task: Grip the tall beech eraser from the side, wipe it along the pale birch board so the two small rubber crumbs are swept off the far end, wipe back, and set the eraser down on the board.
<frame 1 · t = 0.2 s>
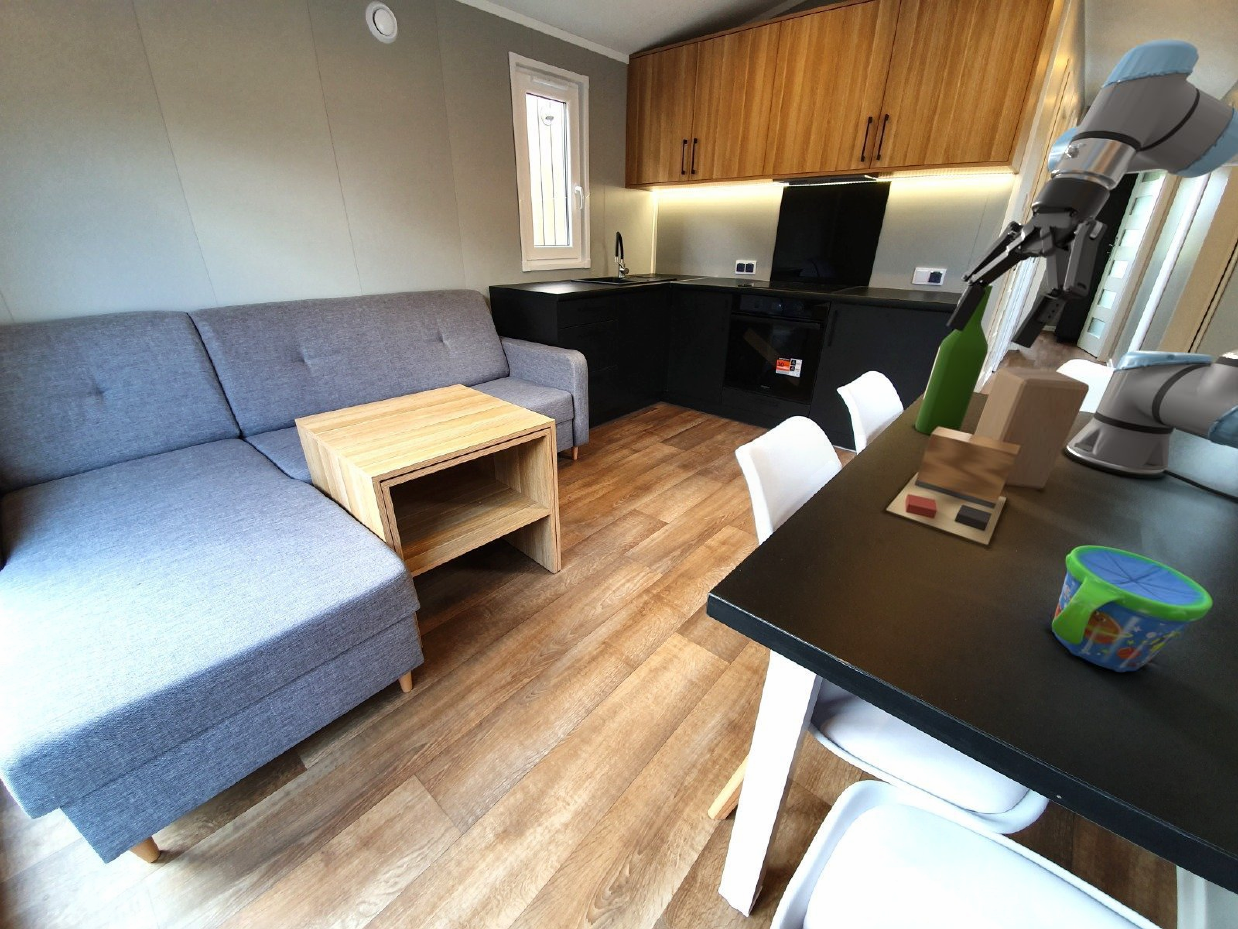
hand: (984, 336, 75), 27 cm above the table, tool tilted 15°, fingers open, 13 cm apart
wine bottle: (935, 431, 116), on the table
crumb b: (919, 509, 80), resting on board
crumb a: (971, 521, 77), resting on board
block: (1000, 477, 94), on the table
snack cup: (1092, 649, 54), on the table
eraser: (955, 491, 86), resting on board
board: (947, 506, 82), on the table
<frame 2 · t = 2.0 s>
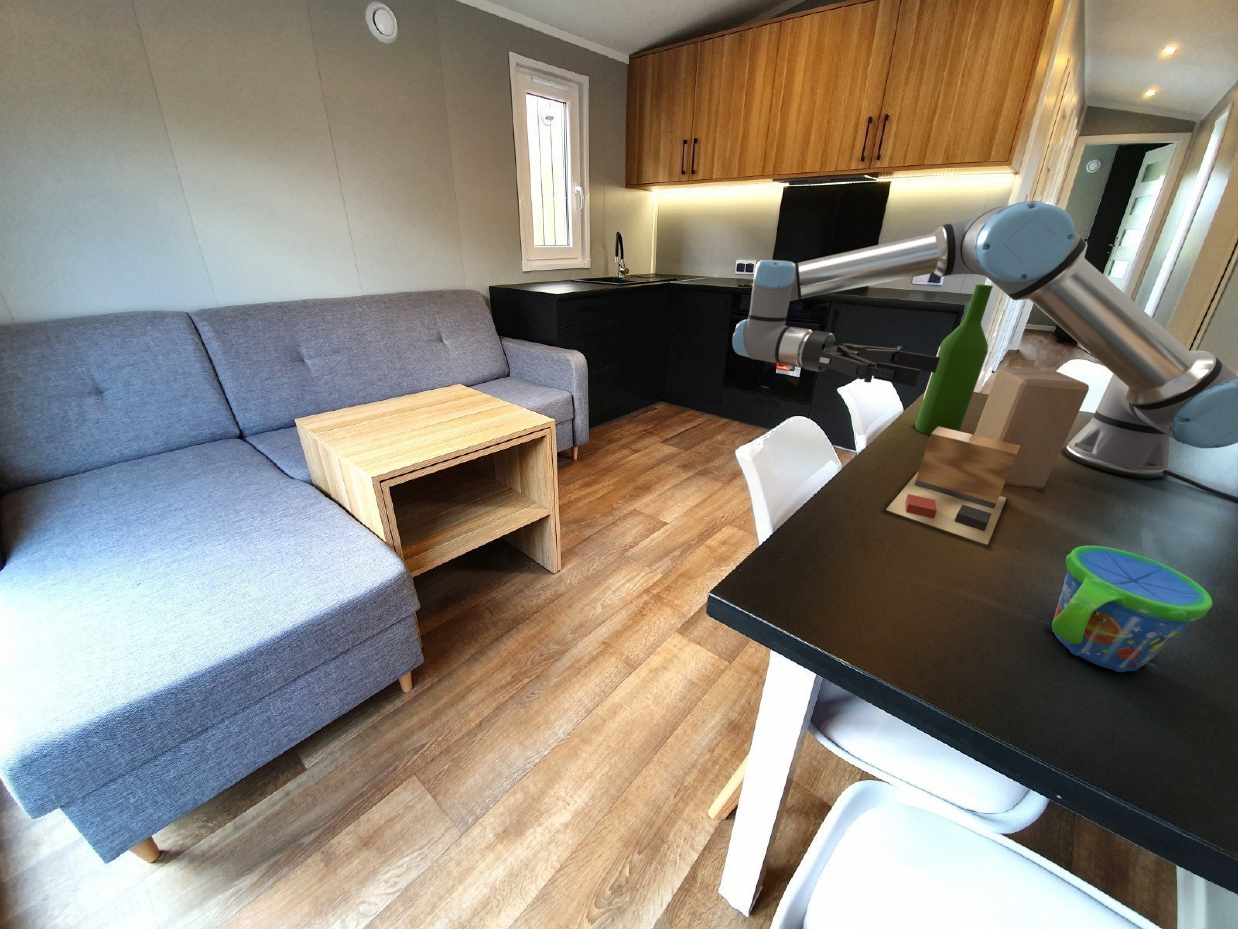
hand: (928, 371, 84), 20 cm above the table, tool horizontal, fingers open, 13 cm apart
nothing on the table moved.
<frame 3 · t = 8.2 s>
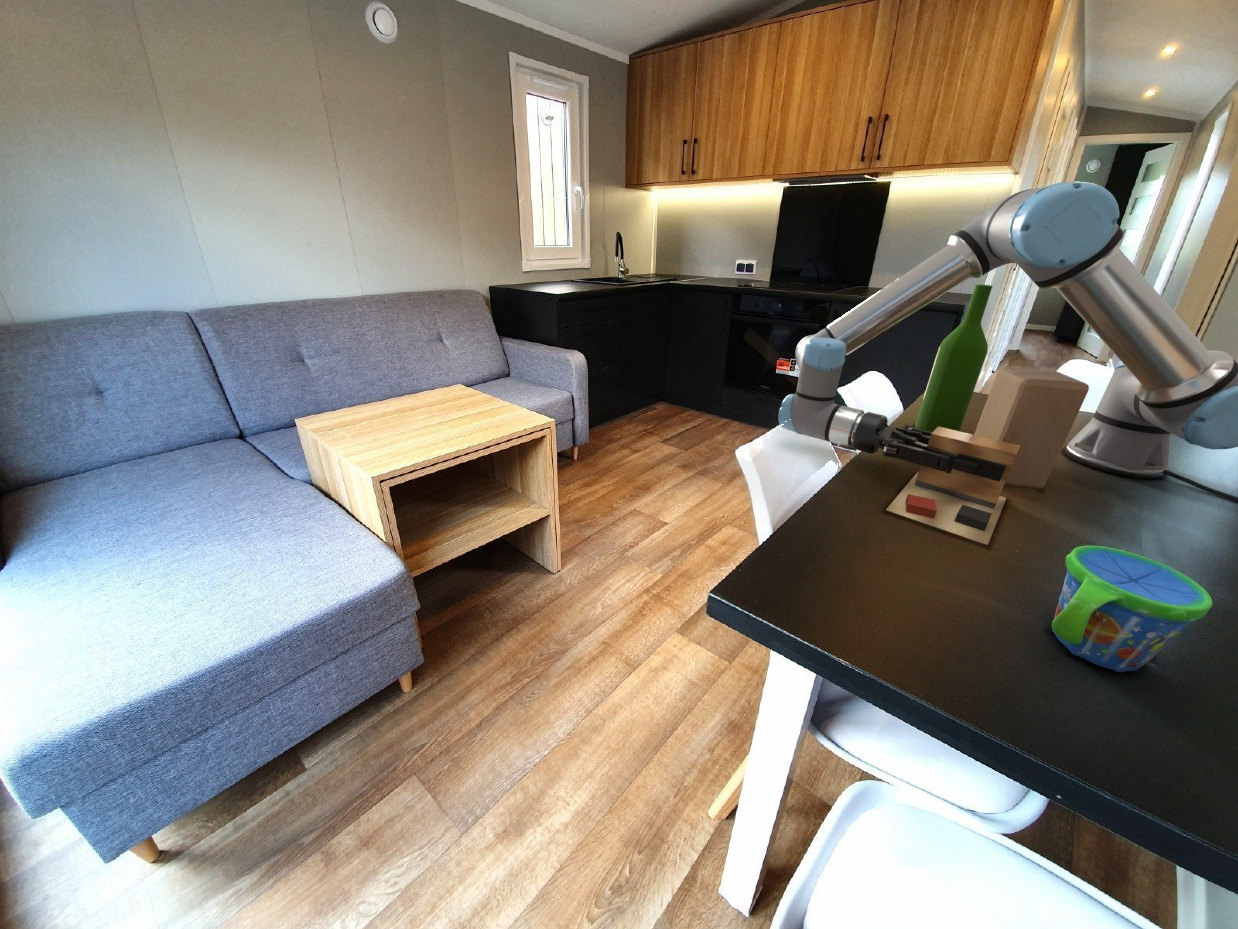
hand: (1005, 467, 80), 7 cm above the table, tool horizontal, fingers closed on eraser, 5 cm apart
eraser: (955, 491, 86), resting on board, touching gripper
everything else where it was.
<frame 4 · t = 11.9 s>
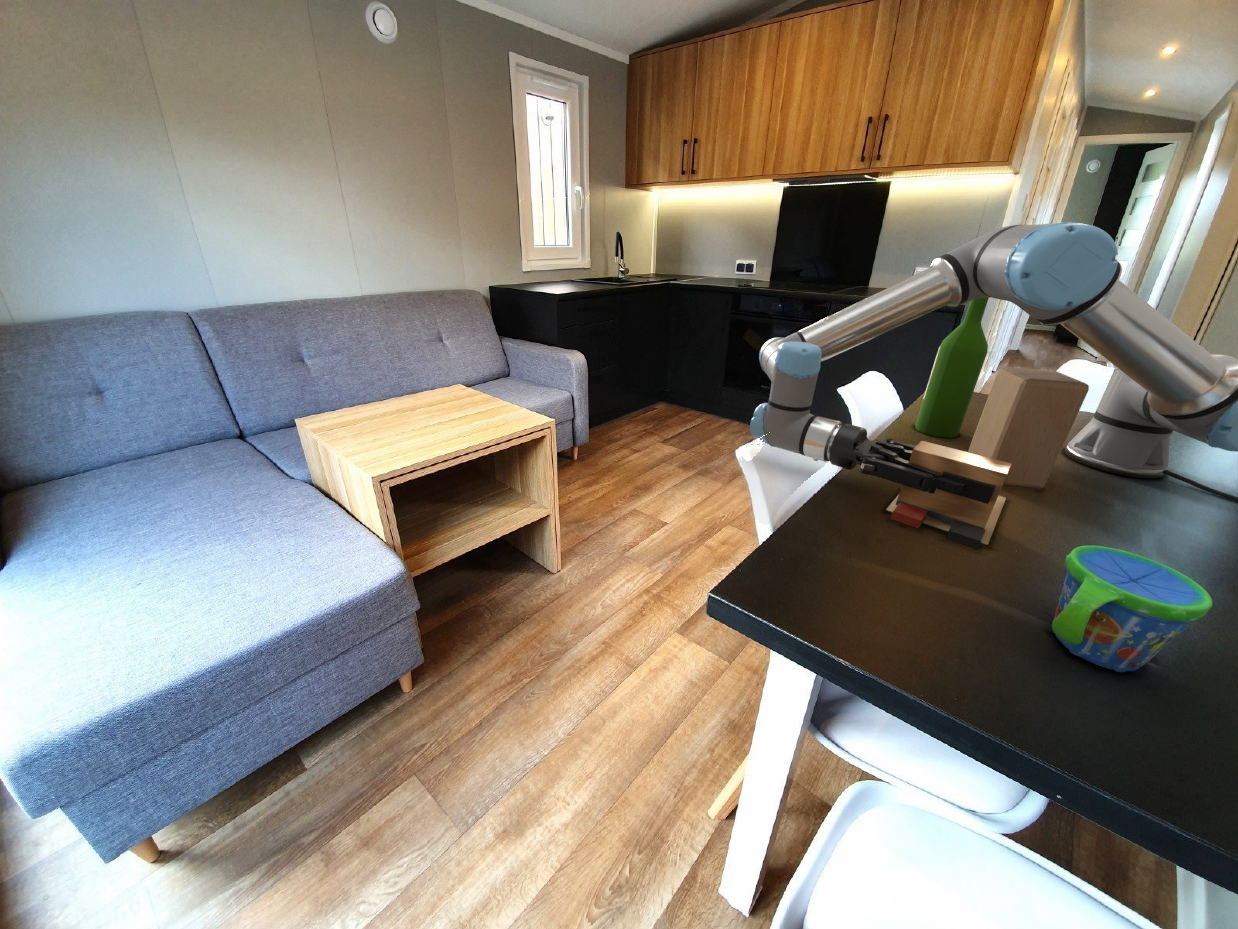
hand: (994, 488, 72), 8 cm above the table, tool horizontal, fingers closed on eraser, 5 cm apart
crumb b: (908, 518, 77), on the table
crumb a: (964, 538, 73), on the table
eraser: (940, 513, 78), point 1 cm above the table, touching gripper
everything else where it was.
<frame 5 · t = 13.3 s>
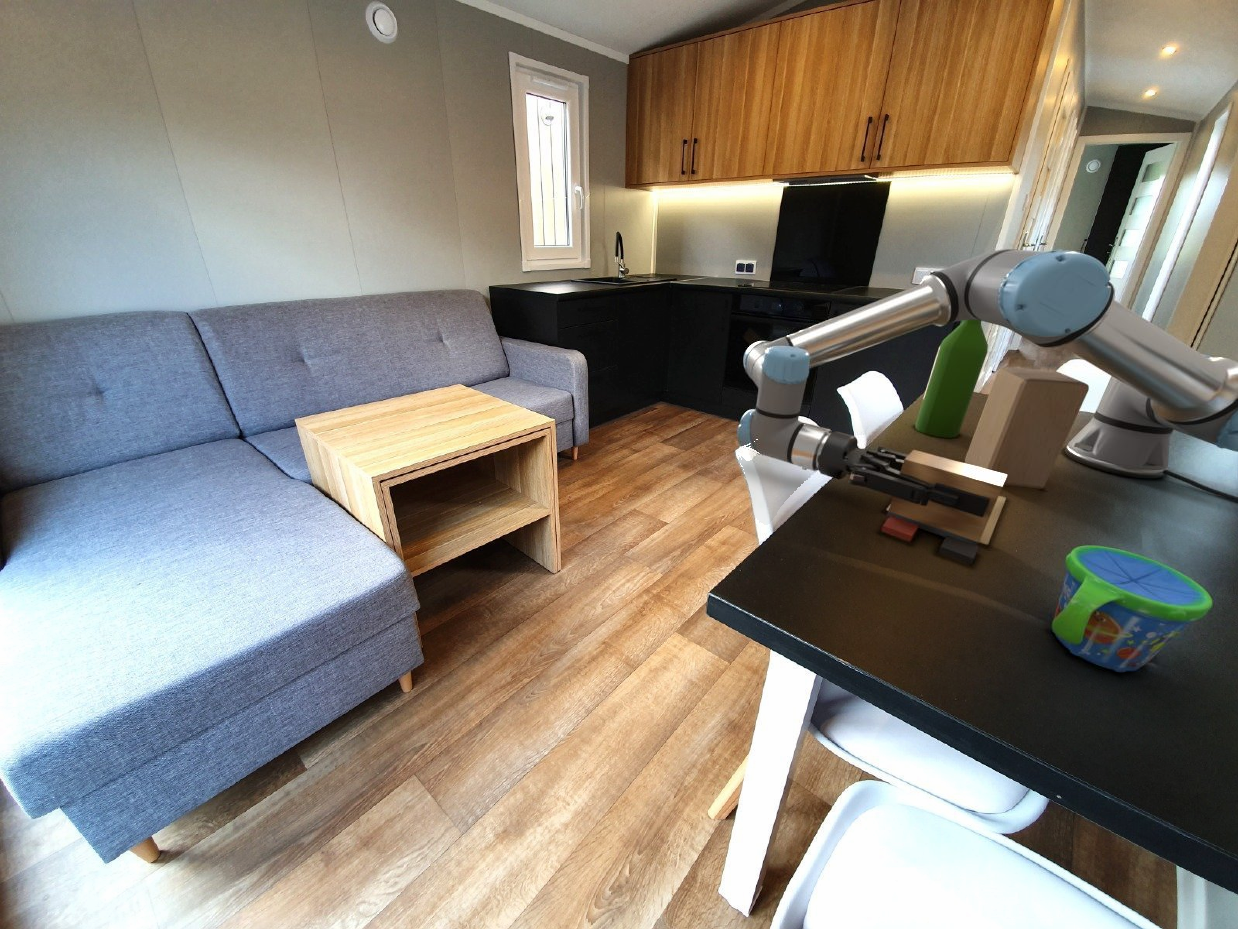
hand: (989, 500, 69), 8 cm above the table, tool horizontal, fingers closed on eraser, 5 cm apart
crumb b: (898, 533, 74), on the table
crumb a: (956, 555, 70), on the table
eraser: (933, 525, 75), point 1 cm above the table, touching gripper
everything else where it was.
when the fingers open (7 cm above the table, at t = 17.7 s): eraser stays where it is, resting on board.
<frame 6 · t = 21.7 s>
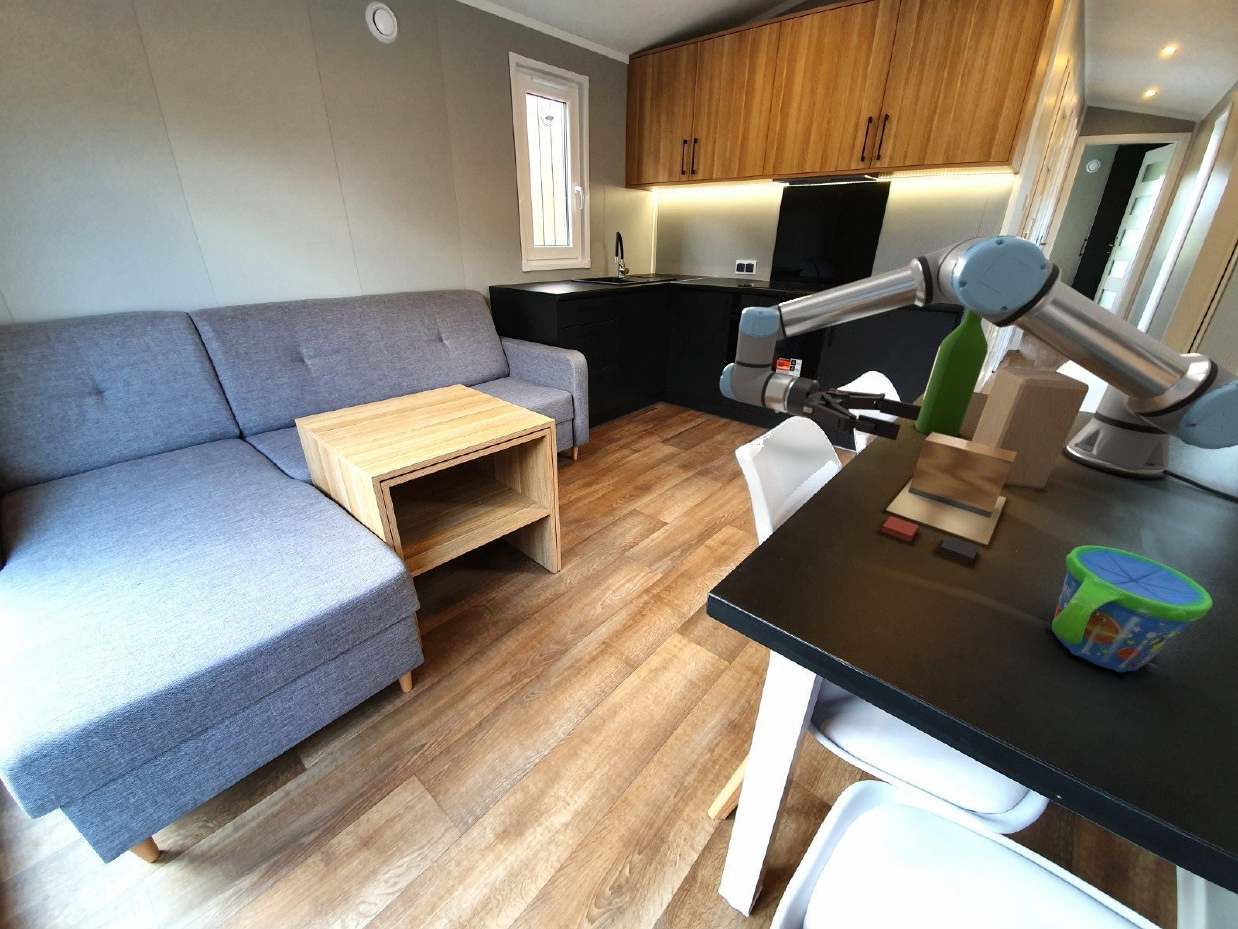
hand: (909, 422, 85), 12 cm above the table, tool horizontal, fingers open, 13 cm apart
eraser: (950, 499, 84), resting on board
everything else where it was.
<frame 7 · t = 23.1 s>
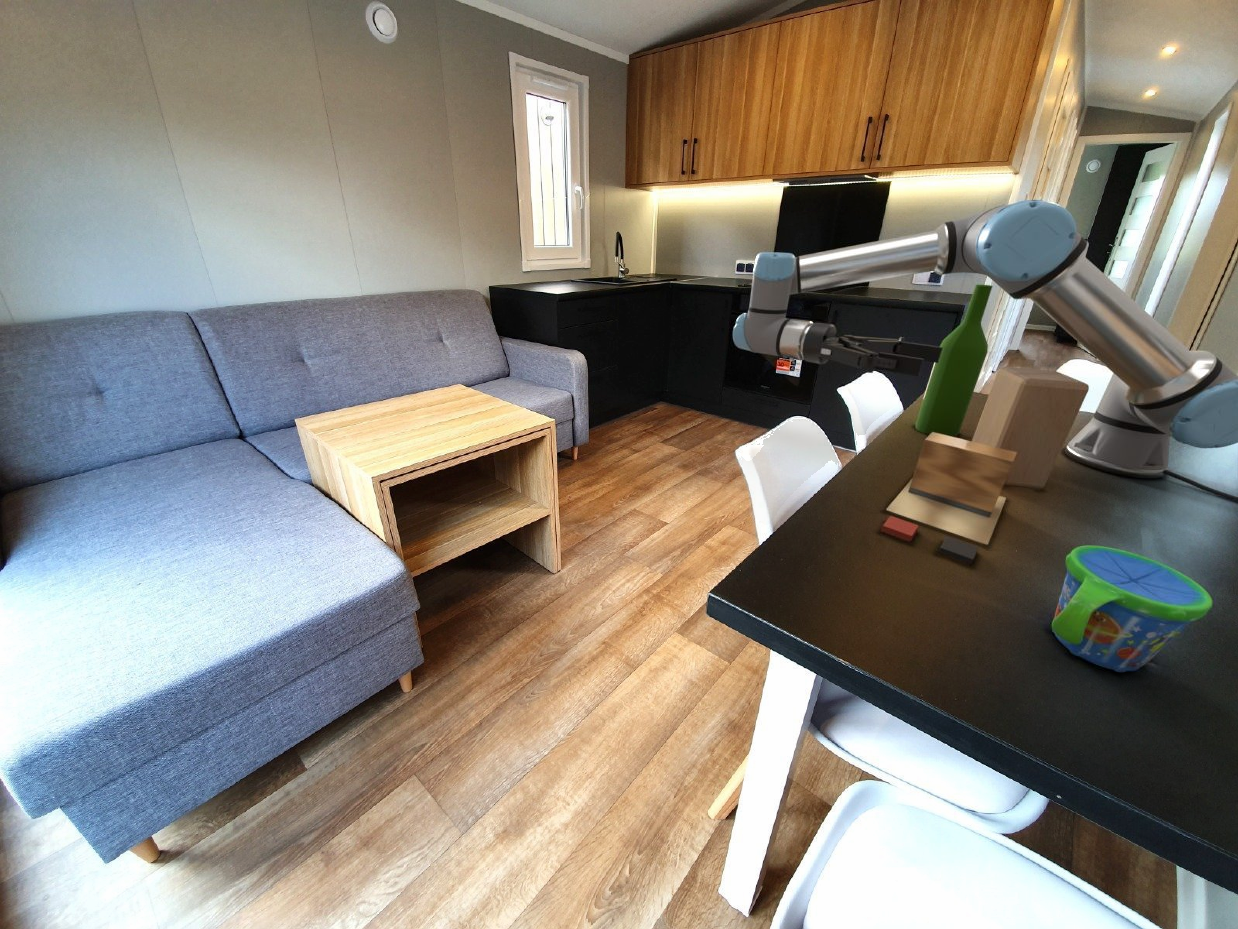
hand: (931, 361, 83), 22 cm above the table, tool horizontal, fingers open, 13 cm apart
nothing on the table moved.
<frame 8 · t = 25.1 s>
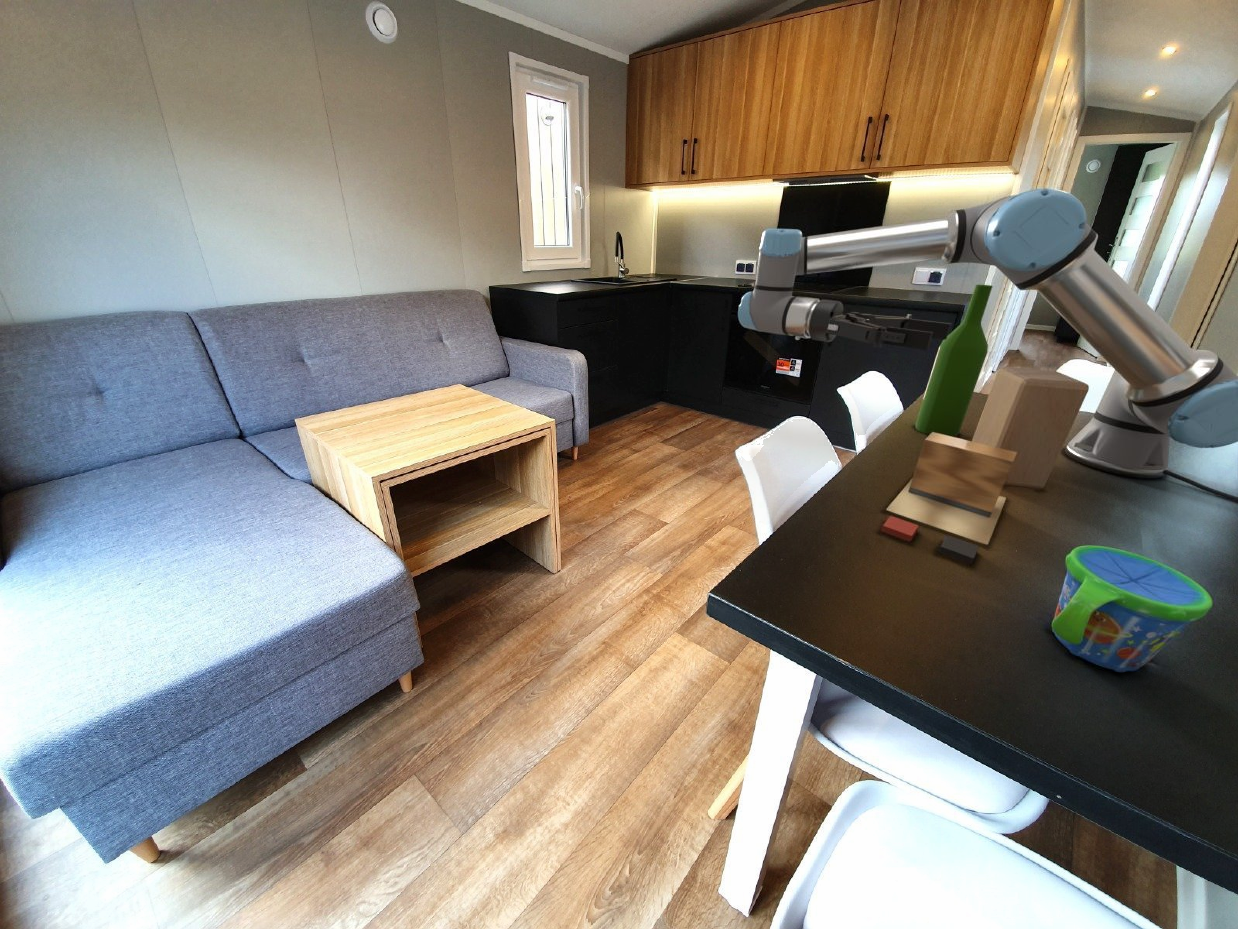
hand: (939, 336, 82), 26 cm above the table, tool horizontal, fingers open, 13 cm apart
nothing on the table moved.
at the end: crumb a inside the target area (7.5 cm from its centre), on the table; crumb b inside the target area (7.2 cm from its centre), on the table; eraser inside the target area (2.0 cm from its centre), point 0.5 cm above the table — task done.
